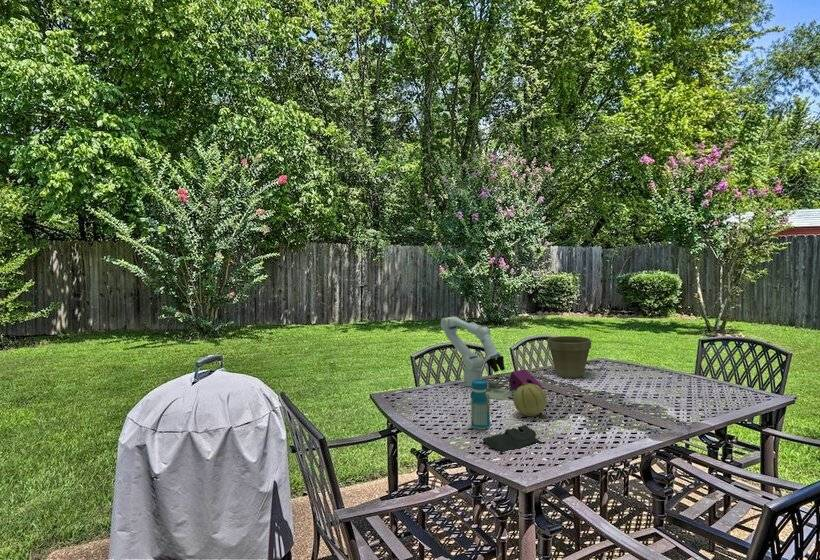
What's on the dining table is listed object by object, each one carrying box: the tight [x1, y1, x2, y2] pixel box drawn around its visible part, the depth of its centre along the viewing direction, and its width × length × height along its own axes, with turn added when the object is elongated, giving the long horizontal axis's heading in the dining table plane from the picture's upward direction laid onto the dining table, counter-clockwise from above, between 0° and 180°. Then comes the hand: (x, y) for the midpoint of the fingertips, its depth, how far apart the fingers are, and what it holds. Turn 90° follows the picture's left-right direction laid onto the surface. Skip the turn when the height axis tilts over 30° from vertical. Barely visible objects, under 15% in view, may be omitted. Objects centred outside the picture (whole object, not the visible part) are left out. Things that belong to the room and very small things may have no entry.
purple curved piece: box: [508, 368, 543, 390], centre depth 266 cm, size 9×8×18 cm
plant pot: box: [546, 335, 592, 379], centre depth 292 cm, size 25×25×22 cm
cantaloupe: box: [513, 383, 548, 417], centre depth 225 cm, size 15×15×15 cm
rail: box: [470, 386, 511, 401], centre depth 258 cm, size 18×9×6 cm, turn 55°
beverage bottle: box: [469, 378, 491, 430], centre depth 213 cm, size 8×8×20 cm
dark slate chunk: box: [482, 424, 541, 453], centre depth 196 cm, size 15×22×5 cm
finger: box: [487, 380, 500, 389], centre depth 266 cm, size 5×4×5 cm
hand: (500, 370), depth 264 cm, fingers open, 7 cm apart
